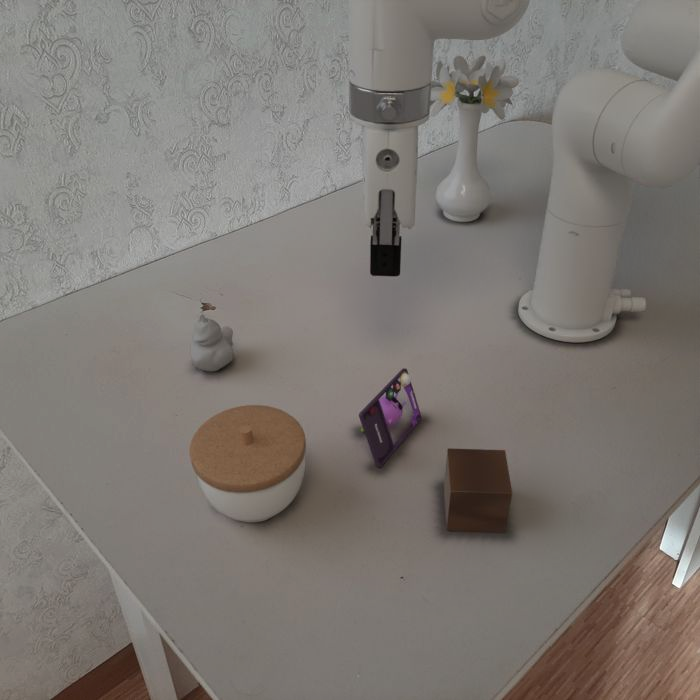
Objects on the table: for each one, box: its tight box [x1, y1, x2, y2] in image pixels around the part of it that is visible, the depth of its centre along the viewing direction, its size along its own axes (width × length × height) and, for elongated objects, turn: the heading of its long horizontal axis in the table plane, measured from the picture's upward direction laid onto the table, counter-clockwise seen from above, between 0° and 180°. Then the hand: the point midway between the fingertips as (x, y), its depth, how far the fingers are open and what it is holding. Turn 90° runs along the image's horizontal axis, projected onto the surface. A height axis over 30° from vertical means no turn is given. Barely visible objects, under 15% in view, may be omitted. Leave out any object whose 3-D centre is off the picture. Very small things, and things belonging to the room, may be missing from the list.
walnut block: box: [443, 447, 513, 534], centre depth 68 cm, size 6×6×6 cm
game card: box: [358, 367, 423, 468], centre depth 77 cm, size 7×5×9 cm
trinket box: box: [189, 404, 307, 524], centre depth 68 cm, size 11×11×9 cm
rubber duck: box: [189, 313, 234, 372], centre depth 86 cm, size 5×7×8 cm
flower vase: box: [430, 55, 520, 223], centre depth 114 cm, size 13×18×25 cm
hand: (385, 272), depth 77 cm, fingers closed
